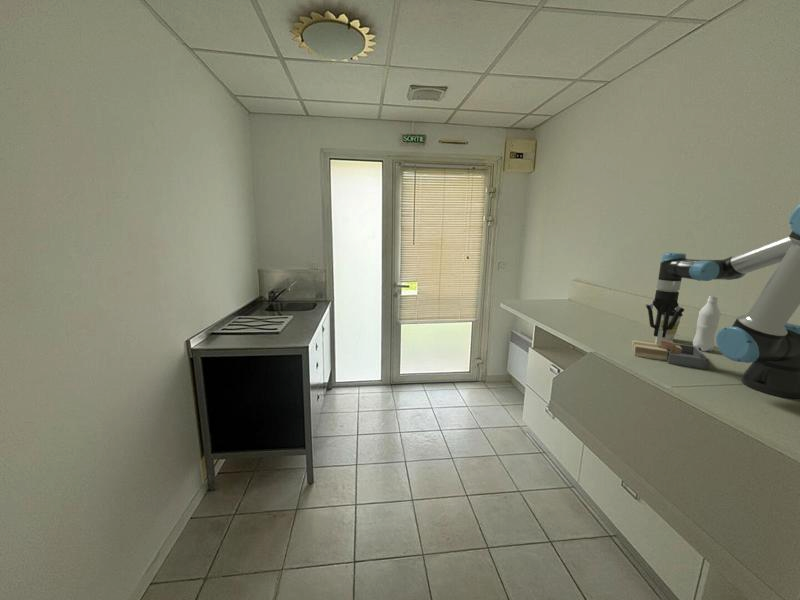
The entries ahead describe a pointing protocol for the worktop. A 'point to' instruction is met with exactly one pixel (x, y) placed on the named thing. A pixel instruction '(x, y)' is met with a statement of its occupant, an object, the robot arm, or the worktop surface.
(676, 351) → the tile
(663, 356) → the board
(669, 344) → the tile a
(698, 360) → the tray
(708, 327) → the water bottle
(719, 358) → the worktop surface
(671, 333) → the coffee cup
